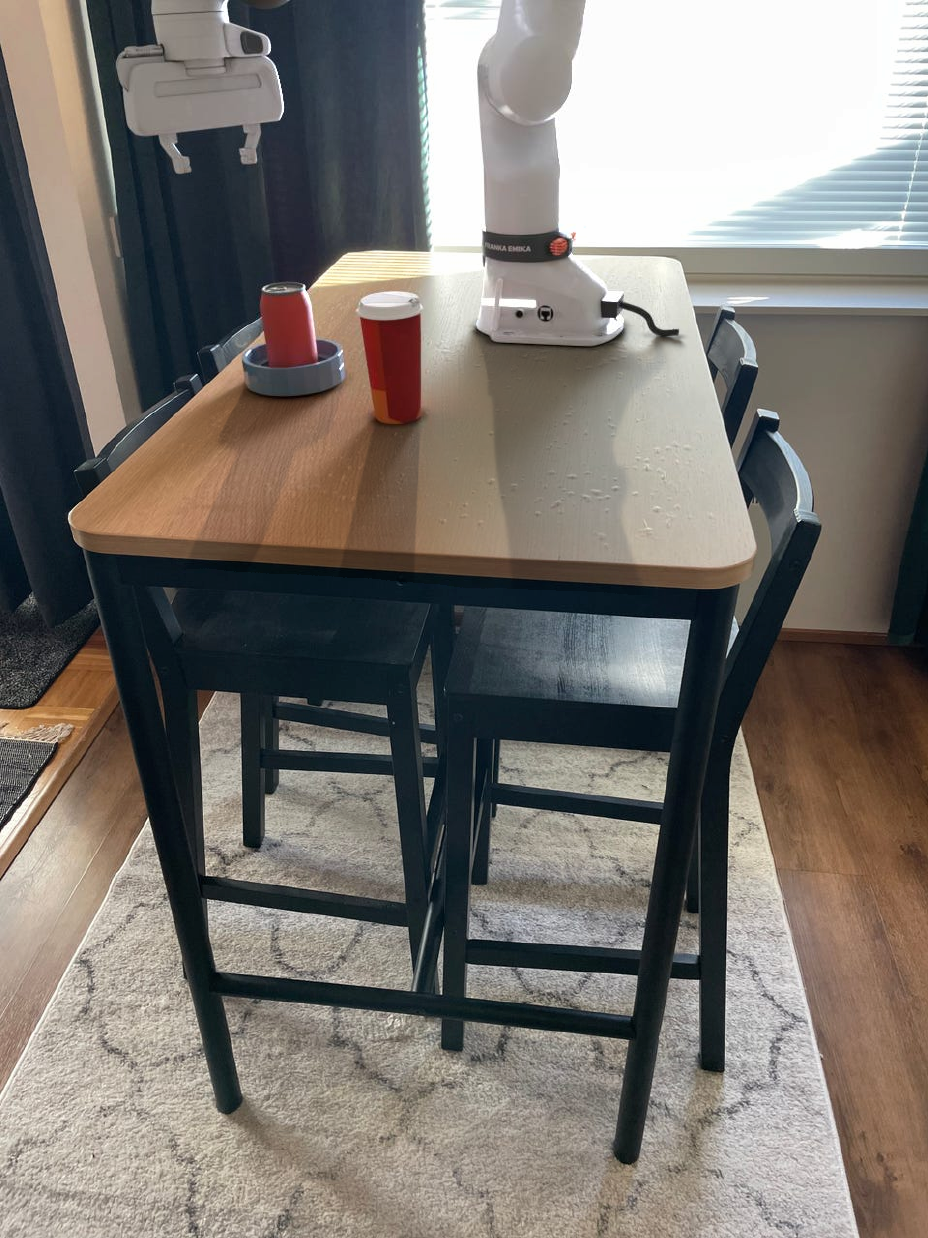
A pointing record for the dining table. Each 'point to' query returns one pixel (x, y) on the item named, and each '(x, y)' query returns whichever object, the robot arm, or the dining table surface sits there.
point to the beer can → (288, 325)
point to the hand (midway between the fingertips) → (217, 167)
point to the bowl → (294, 371)
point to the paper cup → (393, 354)
